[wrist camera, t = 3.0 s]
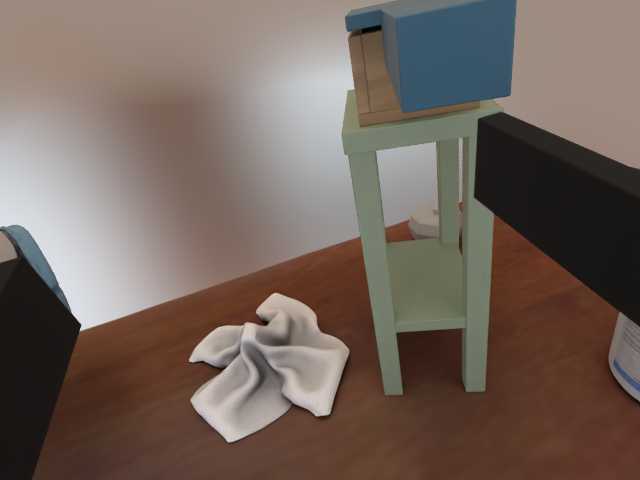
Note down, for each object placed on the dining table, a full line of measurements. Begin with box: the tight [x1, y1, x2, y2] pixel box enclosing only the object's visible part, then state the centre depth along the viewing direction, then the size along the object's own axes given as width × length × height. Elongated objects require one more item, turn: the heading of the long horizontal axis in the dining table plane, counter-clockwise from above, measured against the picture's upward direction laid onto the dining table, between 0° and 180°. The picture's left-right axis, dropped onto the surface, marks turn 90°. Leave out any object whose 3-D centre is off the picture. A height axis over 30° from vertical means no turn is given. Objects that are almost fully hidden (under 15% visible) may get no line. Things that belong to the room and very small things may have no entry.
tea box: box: [348, 25, 480, 127], centre depth 29 cm, size 12×8×5 cm, turn 175°
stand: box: [342, 89, 504, 395], centre depth 37 cm, size 14×10×27 cm
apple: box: [408, 202, 462, 240], centre depth 58 cm, size 8×8×7 cm
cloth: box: [189, 293, 349, 442], centre depth 45 cm, size 22×19×6 cm
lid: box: [345, 0, 516, 113], centre depth 23 cm, size 24×8×3 cm, turn 175°
